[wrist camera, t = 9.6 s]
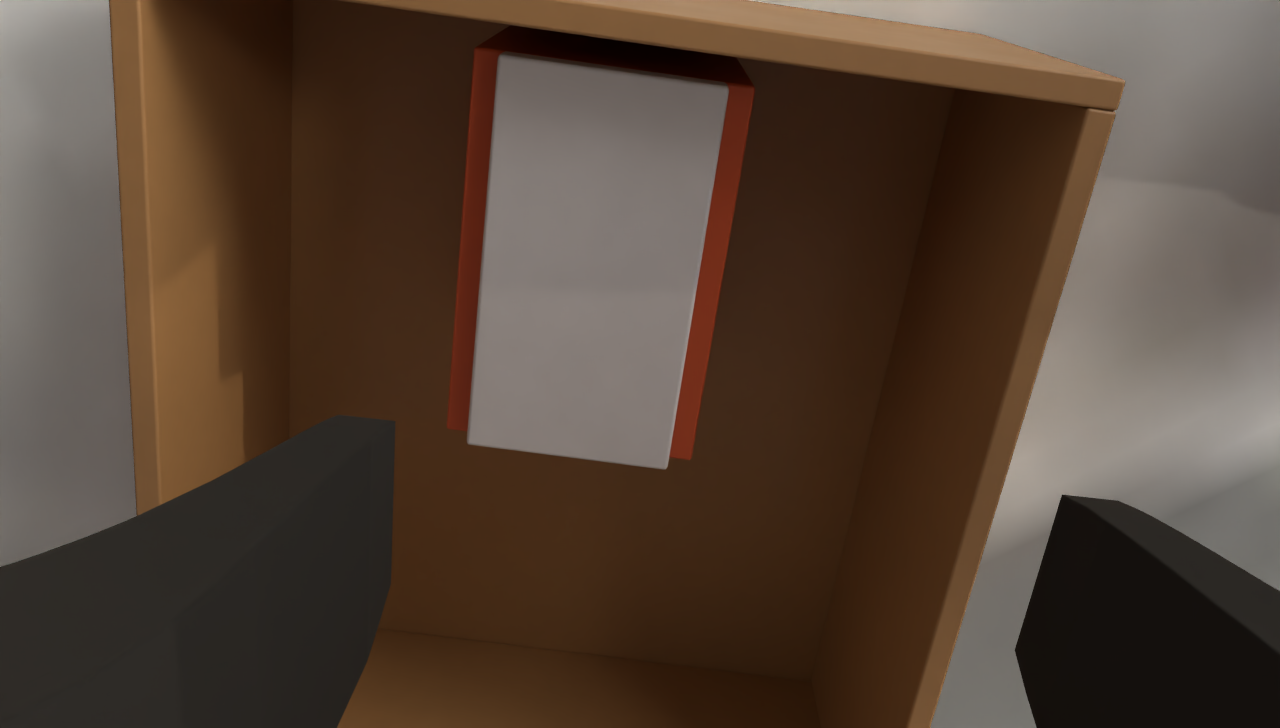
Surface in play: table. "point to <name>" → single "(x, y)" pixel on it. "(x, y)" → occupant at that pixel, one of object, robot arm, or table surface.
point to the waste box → (737, 367)
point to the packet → (593, 243)
